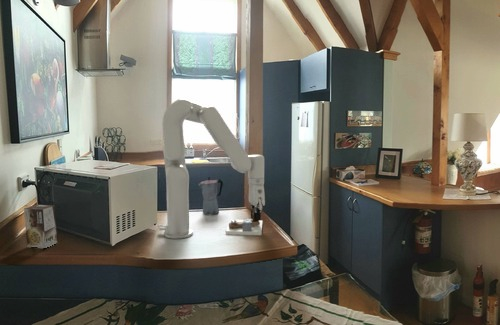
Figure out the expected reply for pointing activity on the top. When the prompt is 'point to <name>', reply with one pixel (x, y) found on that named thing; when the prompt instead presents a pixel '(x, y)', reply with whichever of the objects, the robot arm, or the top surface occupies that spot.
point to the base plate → (238, 231)
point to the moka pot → (210, 195)
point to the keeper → (245, 224)
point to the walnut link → (239, 224)
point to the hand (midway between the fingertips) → (255, 219)
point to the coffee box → (40, 226)
